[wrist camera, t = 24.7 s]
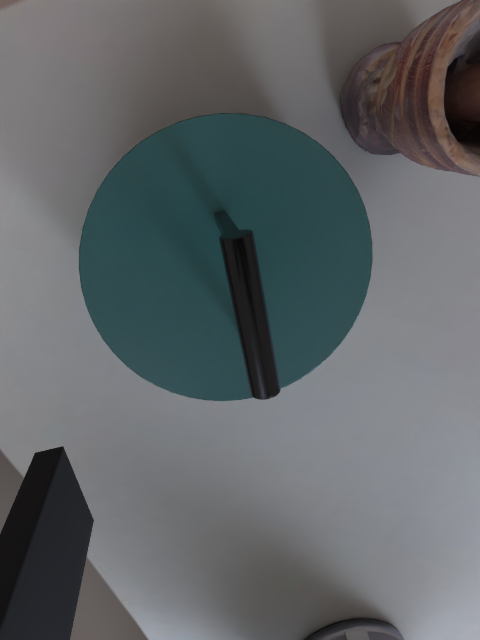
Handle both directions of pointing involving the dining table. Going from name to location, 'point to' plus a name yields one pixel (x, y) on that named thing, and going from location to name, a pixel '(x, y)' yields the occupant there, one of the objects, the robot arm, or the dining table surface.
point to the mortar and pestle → (422, 93)
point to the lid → (225, 257)
